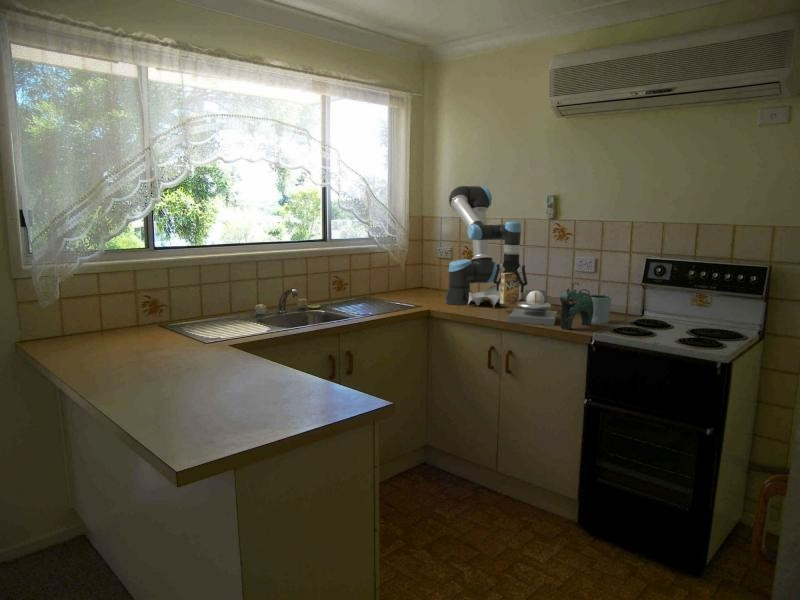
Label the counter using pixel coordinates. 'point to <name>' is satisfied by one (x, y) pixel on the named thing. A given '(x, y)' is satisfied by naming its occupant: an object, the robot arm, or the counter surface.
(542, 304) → the scale pan
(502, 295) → the candy box
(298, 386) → the counter surface
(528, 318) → the kitchen scale
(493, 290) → the white irregular piece
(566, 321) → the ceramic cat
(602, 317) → the pale blue cup
